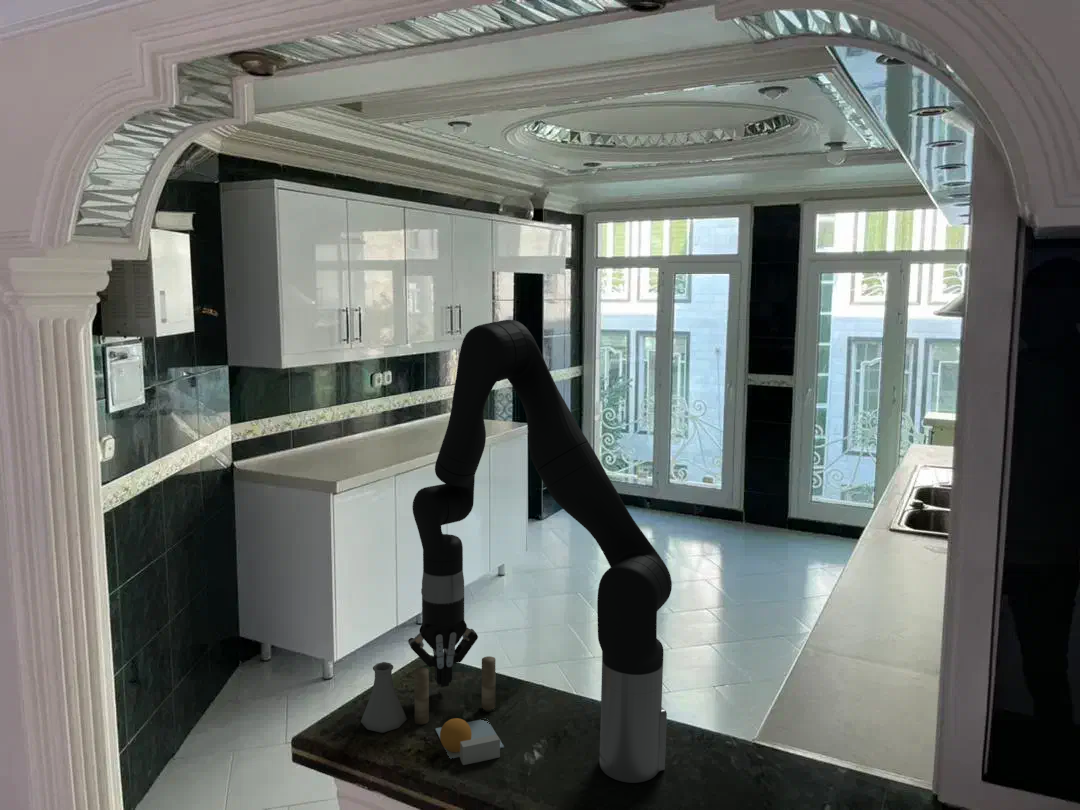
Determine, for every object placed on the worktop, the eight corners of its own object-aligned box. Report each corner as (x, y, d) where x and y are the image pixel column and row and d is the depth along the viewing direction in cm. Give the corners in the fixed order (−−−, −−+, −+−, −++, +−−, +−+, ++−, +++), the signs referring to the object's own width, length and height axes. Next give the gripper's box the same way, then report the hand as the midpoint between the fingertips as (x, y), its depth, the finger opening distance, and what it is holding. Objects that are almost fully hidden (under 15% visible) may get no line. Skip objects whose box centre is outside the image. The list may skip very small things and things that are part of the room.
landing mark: (486, 719, 135) (486, 718, 135) (504, 747, 127) (504, 746, 127) (435, 729, 132) (435, 728, 132) (449, 759, 124) (449, 757, 124)
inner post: (492, 703, 141) (492, 655, 139) (497, 710, 138) (497, 661, 137) (479, 705, 140) (479, 657, 139) (484, 712, 138) (484, 663, 136)
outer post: (427, 715, 136) (426, 666, 135) (430, 722, 134) (430, 672, 133) (413, 718, 135) (412, 668, 134) (416, 725, 133) (415, 675, 132)
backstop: (496, 751, 126) (496, 734, 125) (499, 757, 124) (499, 739, 124) (460, 759, 124) (460, 741, 123) (463, 765, 122) (463, 747, 122)
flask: (382, 738, 129) (381, 681, 128) (353, 723, 134) (351, 667, 132) (414, 720, 135) (413, 664, 134) (385, 706, 139) (384, 652, 138)
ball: (467, 709, 127) (473, 738, 123) (469, 723, 130) (475, 753, 126) (436, 716, 126) (441, 746, 122) (438, 731, 129) (444, 761, 125)
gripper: (411, 606, 136) (412, 701, 138) (484, 596, 141) (484, 688, 143) (401, 591, 143) (403, 681, 145) (472, 582, 148) (472, 669, 150)
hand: (443, 684), depth 144 cm, fingers closed
